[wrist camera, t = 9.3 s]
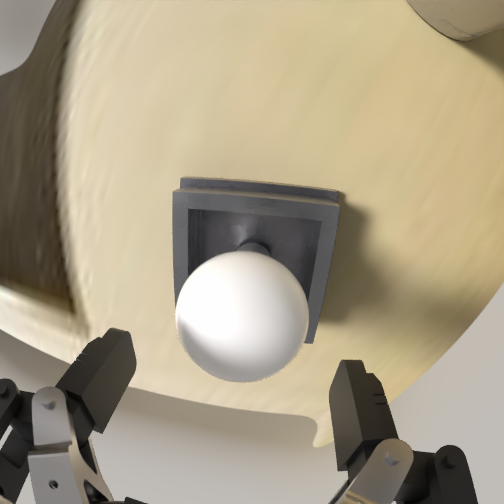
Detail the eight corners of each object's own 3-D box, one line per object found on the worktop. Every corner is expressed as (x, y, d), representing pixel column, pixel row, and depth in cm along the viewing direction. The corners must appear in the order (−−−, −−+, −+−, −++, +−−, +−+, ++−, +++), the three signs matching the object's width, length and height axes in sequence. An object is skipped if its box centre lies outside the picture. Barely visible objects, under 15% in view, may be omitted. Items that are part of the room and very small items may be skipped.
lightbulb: (286, 302, 22) (292, 416, 11) (206, 287, 22) (159, 392, 11) (305, 223, 19) (339, 307, 9) (215, 207, 19) (155, 273, 9)
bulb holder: (184, 176, 20) (165, 183, 16) (335, 189, 19) (349, 199, 16) (185, 306, 24) (171, 333, 20) (312, 319, 23) (317, 349, 20)
